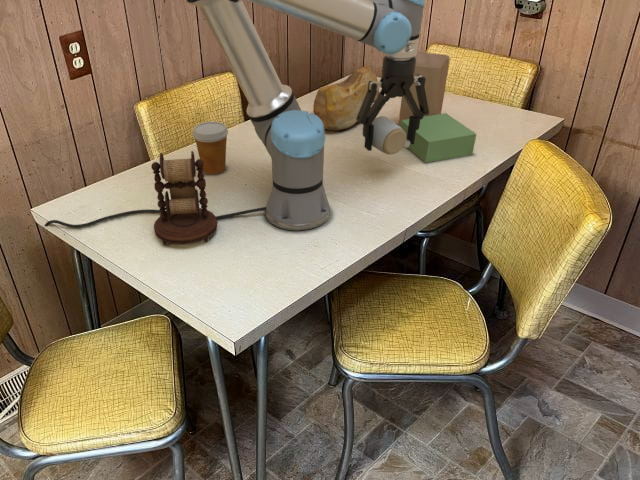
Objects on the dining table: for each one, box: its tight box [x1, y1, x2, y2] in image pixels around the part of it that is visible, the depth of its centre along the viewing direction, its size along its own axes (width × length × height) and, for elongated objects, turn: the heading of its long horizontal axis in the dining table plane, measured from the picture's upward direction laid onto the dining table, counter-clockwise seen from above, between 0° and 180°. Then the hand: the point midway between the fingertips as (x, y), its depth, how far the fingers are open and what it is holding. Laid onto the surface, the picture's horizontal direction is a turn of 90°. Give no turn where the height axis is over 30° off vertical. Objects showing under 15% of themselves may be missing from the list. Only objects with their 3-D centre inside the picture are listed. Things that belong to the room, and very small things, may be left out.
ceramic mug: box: [372, 115, 410, 156], centre depth 148 cm, size 11×8×8 cm
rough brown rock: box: [312, 65, 380, 132], centre depth 181 cm, size 23×17×15 cm
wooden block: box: [398, 51, 451, 126], centre depth 171 cm, size 10×10×20 cm
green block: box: [400, 112, 477, 164], centre depth 164 cm, size 14×16×6 cm
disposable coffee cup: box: [192, 121, 229, 175], centre depth 159 cm, size 10×10×12 cm
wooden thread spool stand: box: [150, 150, 218, 246], centre depth 132 cm, size 15×15×20 cm
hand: (389, 145), depth 150 cm, fingers closed on ceramic mug, 11 cm apart
